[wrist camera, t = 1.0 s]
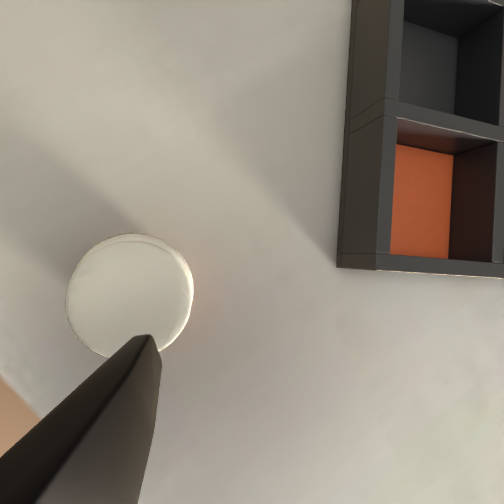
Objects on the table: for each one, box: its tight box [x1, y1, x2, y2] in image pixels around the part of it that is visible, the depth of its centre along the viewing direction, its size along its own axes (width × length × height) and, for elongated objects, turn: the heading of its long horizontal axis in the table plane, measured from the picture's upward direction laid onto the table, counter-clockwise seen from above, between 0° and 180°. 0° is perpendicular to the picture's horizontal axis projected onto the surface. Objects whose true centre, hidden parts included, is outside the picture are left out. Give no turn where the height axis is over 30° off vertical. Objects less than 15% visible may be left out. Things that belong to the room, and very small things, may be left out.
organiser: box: [337, 0, 504, 279], centre depth 24 cm, size 19×19×4 cm
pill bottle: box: [65, 233, 193, 358], centre depth 15 cm, size 5×5×8 cm
